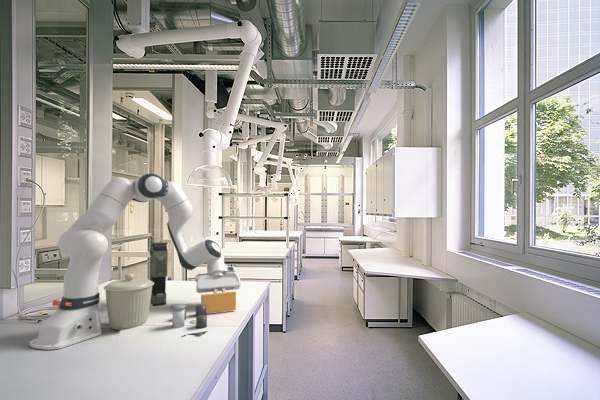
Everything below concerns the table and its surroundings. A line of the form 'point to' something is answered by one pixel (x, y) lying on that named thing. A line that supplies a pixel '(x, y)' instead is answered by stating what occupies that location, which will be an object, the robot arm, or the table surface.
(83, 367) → the table surface
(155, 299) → the device
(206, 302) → the tan wooden plank
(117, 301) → the canister
